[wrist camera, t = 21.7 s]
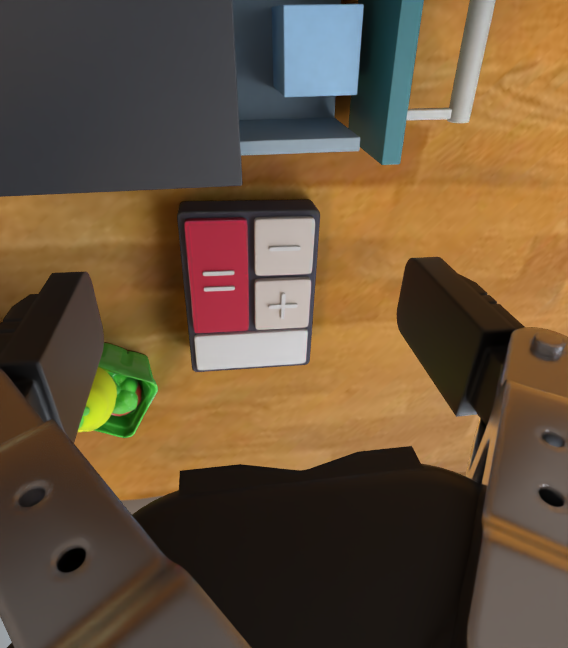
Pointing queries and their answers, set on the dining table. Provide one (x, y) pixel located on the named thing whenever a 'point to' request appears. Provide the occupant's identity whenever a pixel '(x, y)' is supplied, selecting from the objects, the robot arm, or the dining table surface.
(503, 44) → the dining table surface
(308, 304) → the calculator
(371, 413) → the dining table surface
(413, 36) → the drawer
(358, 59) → the blue block
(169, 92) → the cabinet
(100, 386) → the fruit basket
